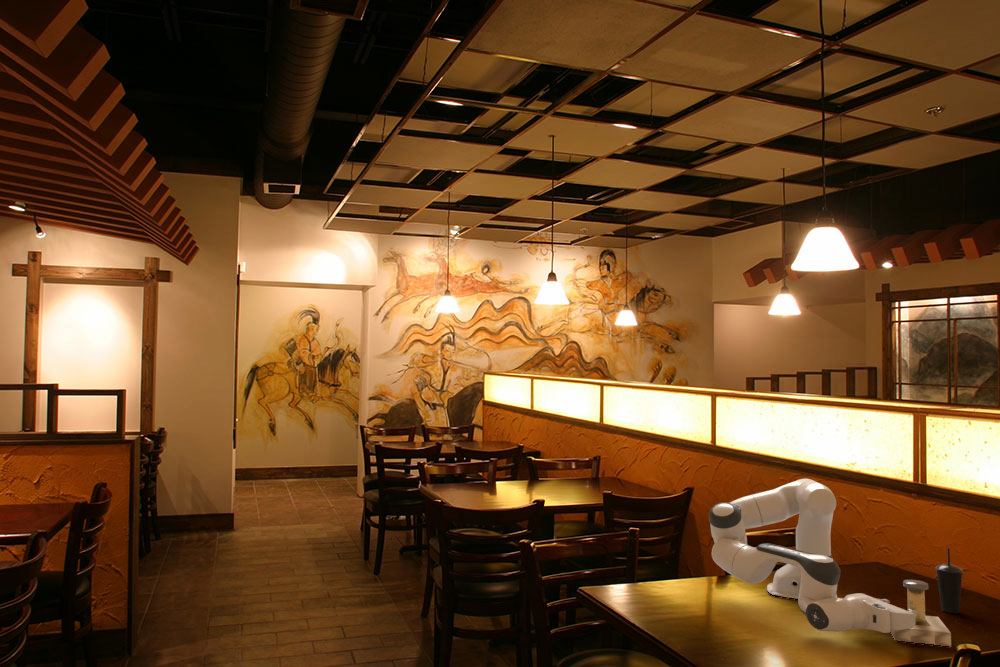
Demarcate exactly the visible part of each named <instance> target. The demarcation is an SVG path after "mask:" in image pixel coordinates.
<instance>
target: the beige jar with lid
mask: <svg viewBox="0 0 1000 667" xmlns="http://www.w3.org/2000/svg"><path fill="white" fill-rule="evenodd" d="M902 584H903V585H902V586H903V587H904V588H906V590H907V591H906V593H907V594H906V596H907V610H908V609H912V610H915V611H917V616H916V617H915V625H922V626H926V622H925V616H926V599H925V598H926V597H925V596H926V595H925V593H926V592H925V591H927V590H929V583H928V582H925V581H922V580H917V579H904V580H903V581H902Z"/></svg>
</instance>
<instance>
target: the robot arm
mask: <svg viewBox="0 0 1000 667" xmlns="http://www.w3.org/2000/svg"><path fill="white" fill-rule="evenodd" d="M836 507H837V499H836V497H835V494H834V493H833V491H832V489H830V488H829V487H828V486H827V485H824V484H823V483H820V482H817V481H815V480H814V479H810V478H799V479H797V480H795V481H792V482H789V483H786V484H784V485H781V486H779V487H776V488H773V489H770V490H766V491H760V492H756V493H753V494H749V495H746V496H742V497H739V498H737V499H735V500H732V501H730V502H719V503H716V504H714V505H713V507H712V506H711V508H710V509H709V511H708V512H709V513H708V520H709V524H710V525H709V526H710V533H711V536H712V539H713V542H714V544H713V546H712V548H711V558H712V561H714V563H715V564H716V565H717V566H719V568H721V569H722V570H723V571H725V572H726V573H728V574H729V575H731V576H733V577H734V578H737V579H739V580H740V581H742V582H744V583H746V584H752V585H753V584H755V585H756V584H759V583H761V582H764V581H765V580H766V579H768V577H769V576H770V575H771V574H772V571H773V570H774V568H775V567H776V565H777V563H778V562H779V563H783V564H785V565H783V566H782V567H780V568H779V569H777V570H776V571H775V573H774V575H773V579H772V582H770V583H768V584H767V585H766V592H767V591H768V592H769V593H771V594H772V595H778V596H784V597H792V598H798V600H797V606H798V607H799V609H800V611H801V612H802V613H803V615H805V617H806V620H807V622H808V623H809V624H810V626H812V627H813V628H814V629H815V630H817V631H823V632H830V633H833V632H836V633H837V632H846V631H848V630H868V631H869V630H870V631H874V632H879V633H884V634H889V633H890V630H904V629H909V628H913V627H914V626H915V617H916V616H917V611H915V610H912V609H908V608H907V610H906V609H904V608H901V607H898V606H896V605H893V604H890V603H891V601H890V600H889V599H887V598H882V599H881V598H876V597H873V596H870V595H867V594H866V593H861V592H859V593H858V592H856V593H851V594H850V593H849V594H846V595H845V596H844V597H838V595H837V590H838V583H839V581H840V578H841V577H840V576H841V572H842V571H841V568H840V567H839V565H838V563H837V562H836V561H835V560H834V559H833V555H832V553H831V550H832V546H831V532H832V531H831V530H832V529H831V528H832V523H833V517H834V512H835V510H836ZM798 514H799V515H798ZM796 515H798V521H797V524H796V527H795V549H794V548H791V547H786V546H782V545H778V544H773V543H761V544H758V545H757V546H756V547H754V546H751V545H749V544H748V538H747V532H746V529H747V530H748V529H753V528H759V527H763V526H768V525H772V524H777V523H781V522H784V521H786V520H787V519H789V518H792V517H794V516H796ZM768 592H767V593H768ZM769 593H768V594H769ZM772 595H771V596H772Z"/></svg>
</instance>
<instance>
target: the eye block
mask: <svg viewBox="0 0 1000 667" xmlns="http://www.w3.org/2000/svg"><path fill="white" fill-rule="evenodd" d="M925 622H926V626H922V625H915V626H914V627H913V628H909V629H904V630H890V632H891V633H890V632H889V633H890V635H891V634H892V635H891V637H892V636H893V637H892V639H893V638H894V639H893V640H894V641H895V640H898V641H905V642H904V643H906V642H914V643H913V644H915V643H925V644H934V645H941V646H940V647H942V646H949V647H948V648H952V633H951V631H950V630H949V628H948V627H947V626H946V625H945V623H944V622H943V621H942V620H941V619H940V617H939V616H935V615H934V616H932V615H925Z"/></svg>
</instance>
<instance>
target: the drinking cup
mask: <svg viewBox="0 0 1000 667" xmlns="http://www.w3.org/2000/svg"><path fill="white" fill-rule="evenodd" d="M946 549H947V550H946V552H947V563H942V564H939V565H936V566H935V570H936V577H937V584H938V585H937V586H938V592H939V600H940V608H941V612H943V611H945V612H944V613H946V612H948V613H947V614H950V613H958V614H959V613H960V608H961V606H960V605H961V593H962V579H963V573H964V570H963V568H960V567H958V566H957V565H953V564H951V550H950V548H947V547H946Z"/></svg>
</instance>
